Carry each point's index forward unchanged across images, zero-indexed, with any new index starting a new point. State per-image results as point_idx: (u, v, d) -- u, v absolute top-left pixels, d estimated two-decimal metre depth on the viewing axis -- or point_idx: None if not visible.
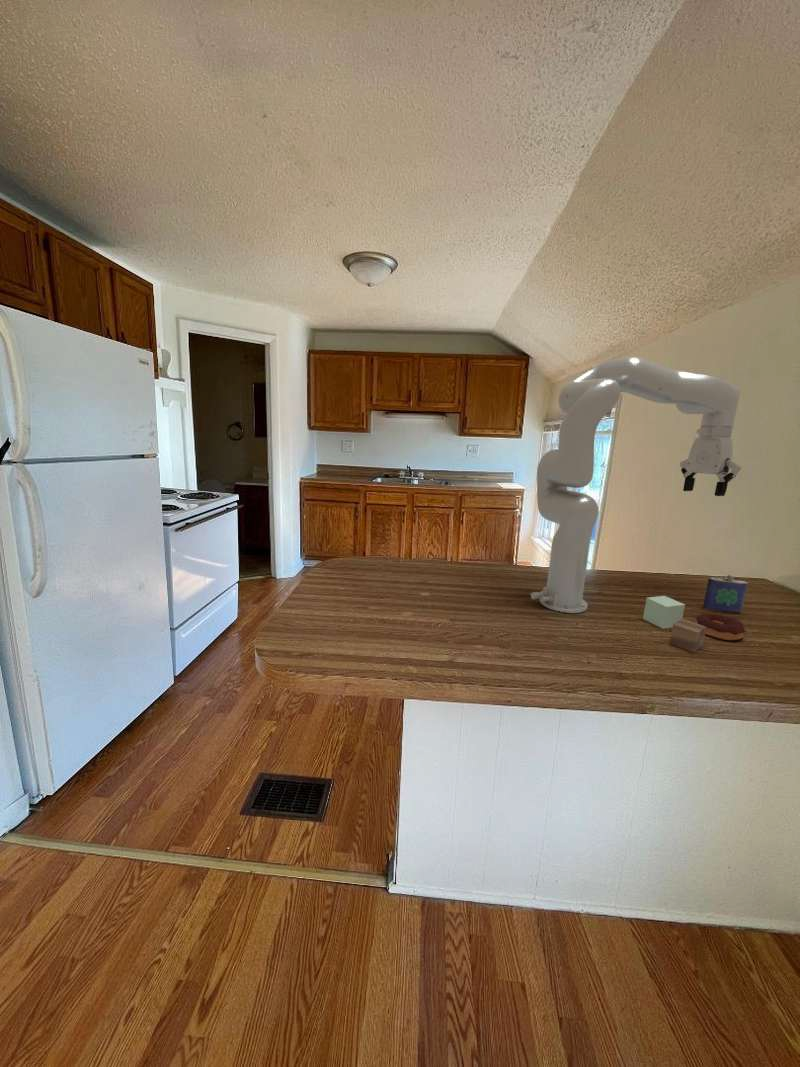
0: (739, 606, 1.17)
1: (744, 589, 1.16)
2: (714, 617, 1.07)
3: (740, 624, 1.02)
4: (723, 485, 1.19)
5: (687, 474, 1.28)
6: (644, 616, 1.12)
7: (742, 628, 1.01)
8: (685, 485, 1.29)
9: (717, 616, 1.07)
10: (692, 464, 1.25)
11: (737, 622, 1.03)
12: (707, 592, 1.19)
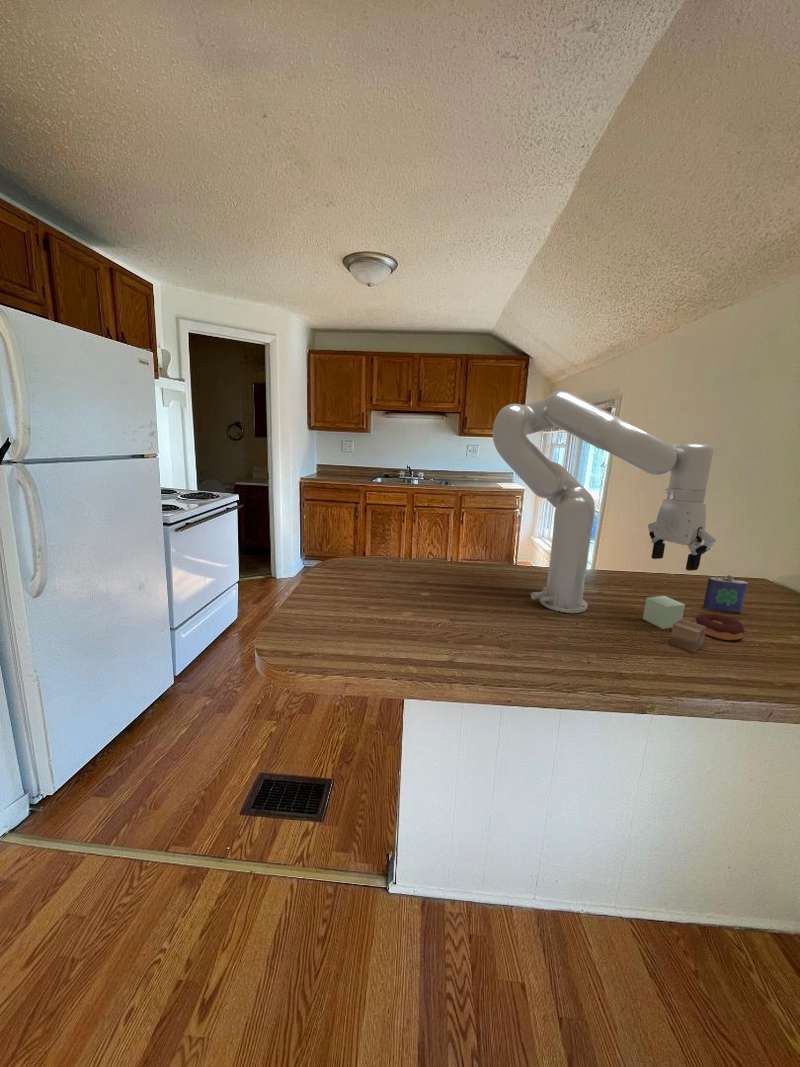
0: (739, 606, 1.17)
1: (744, 589, 1.16)
2: (713, 617, 1.07)
3: (739, 624, 1.02)
4: (695, 558, 1.00)
5: (655, 540, 1.10)
6: (644, 616, 1.12)
7: (741, 628, 1.01)
8: (653, 552, 1.10)
9: (716, 616, 1.07)
10: (660, 530, 1.07)
11: (736, 622, 1.03)
12: (707, 592, 1.19)
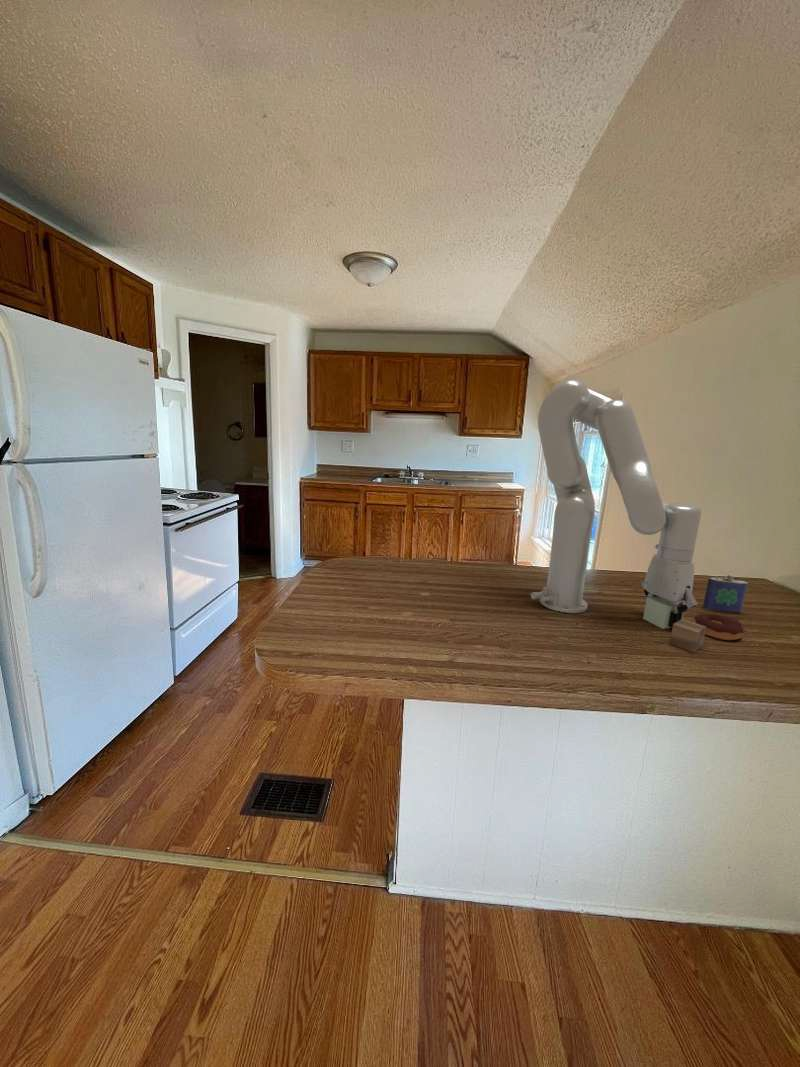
0: (739, 606, 1.17)
1: (744, 589, 1.16)
2: (713, 617, 1.07)
3: (739, 624, 1.02)
4: (677, 616, 1.05)
5: None
6: (644, 615, 1.12)
7: (741, 628, 1.01)
8: None
9: (716, 616, 1.07)
10: (650, 584, 1.10)
11: (736, 622, 1.03)
12: (707, 592, 1.19)
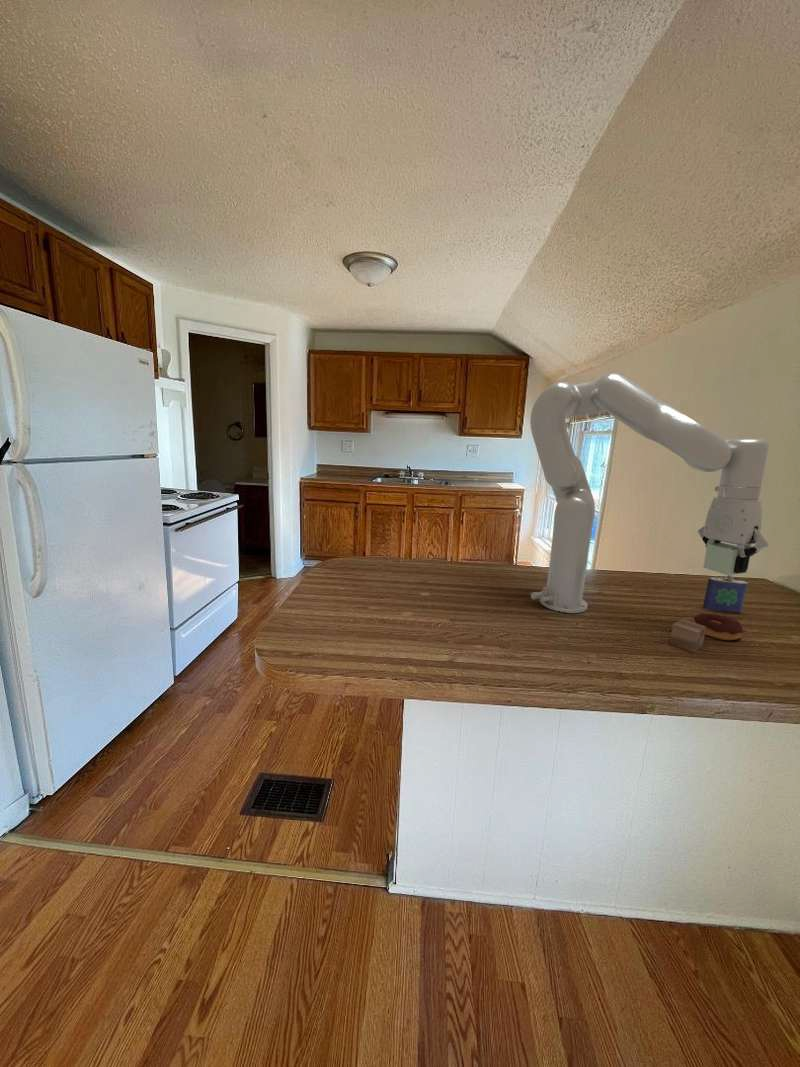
0: (739, 606, 1.17)
1: (744, 589, 1.16)
2: (712, 617, 1.07)
3: (738, 624, 1.02)
4: (744, 561, 0.97)
5: None
6: (705, 564, 1.04)
7: (740, 628, 1.01)
8: None
9: (715, 616, 1.07)
10: (711, 529, 1.02)
11: (735, 622, 1.03)
12: (707, 592, 1.19)
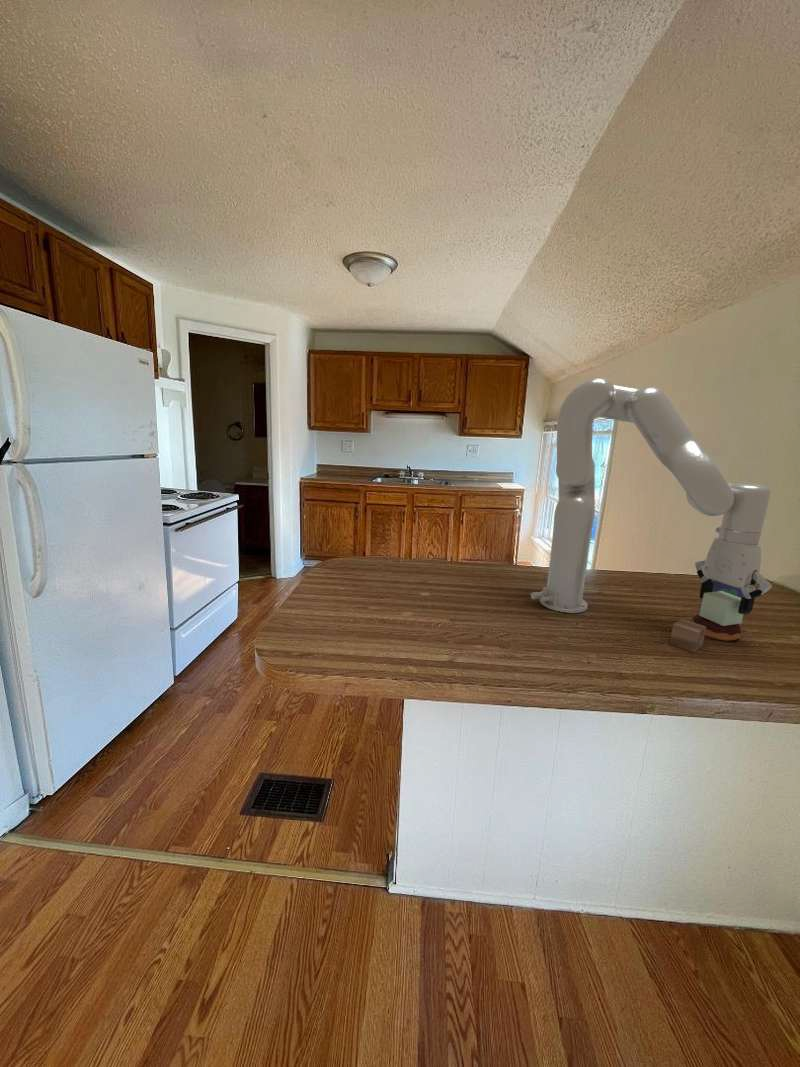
0: None
1: None
2: None
3: (736, 625, 1.02)
4: (749, 602, 0.98)
5: (704, 579, 1.07)
6: (701, 612, 1.06)
7: (738, 629, 1.01)
8: (702, 592, 1.07)
9: None
10: (710, 570, 1.04)
11: None
12: None
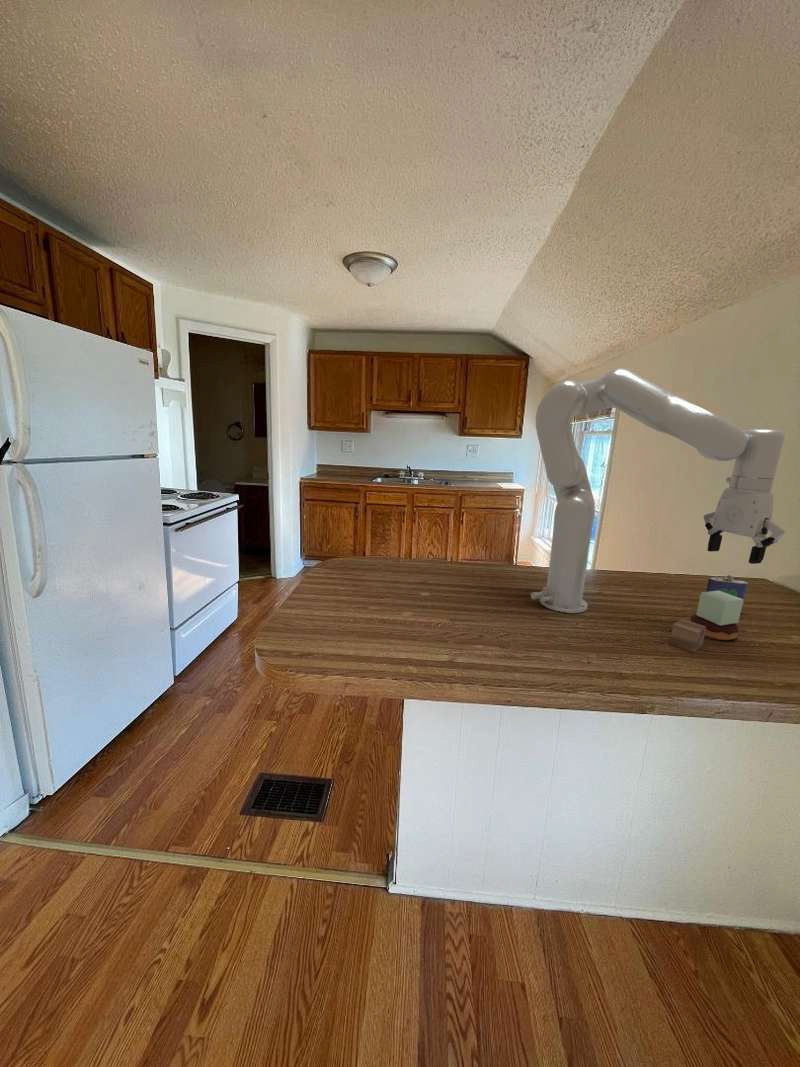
0: None
1: (744, 589, 1.16)
2: None
3: (734, 624, 1.02)
4: (760, 551, 0.95)
5: (713, 531, 1.04)
6: (698, 612, 1.06)
7: (736, 628, 1.01)
8: (710, 544, 1.05)
9: None
10: (720, 521, 1.01)
11: None
12: None
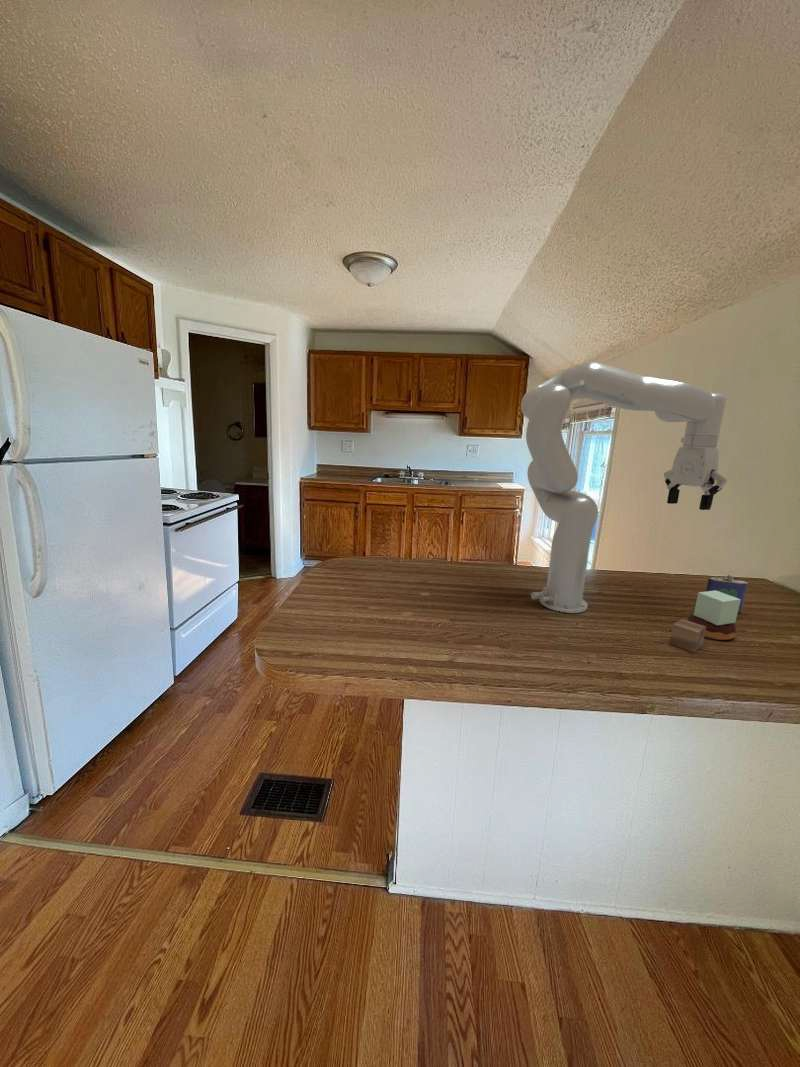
0: (739, 606, 1.17)
1: (744, 589, 1.16)
2: None
3: (731, 624, 1.03)
4: (708, 498, 1.11)
5: (671, 485, 1.20)
6: (695, 611, 1.06)
7: (733, 628, 1.02)
8: (669, 497, 1.21)
9: None
10: (676, 475, 1.17)
11: None
12: None
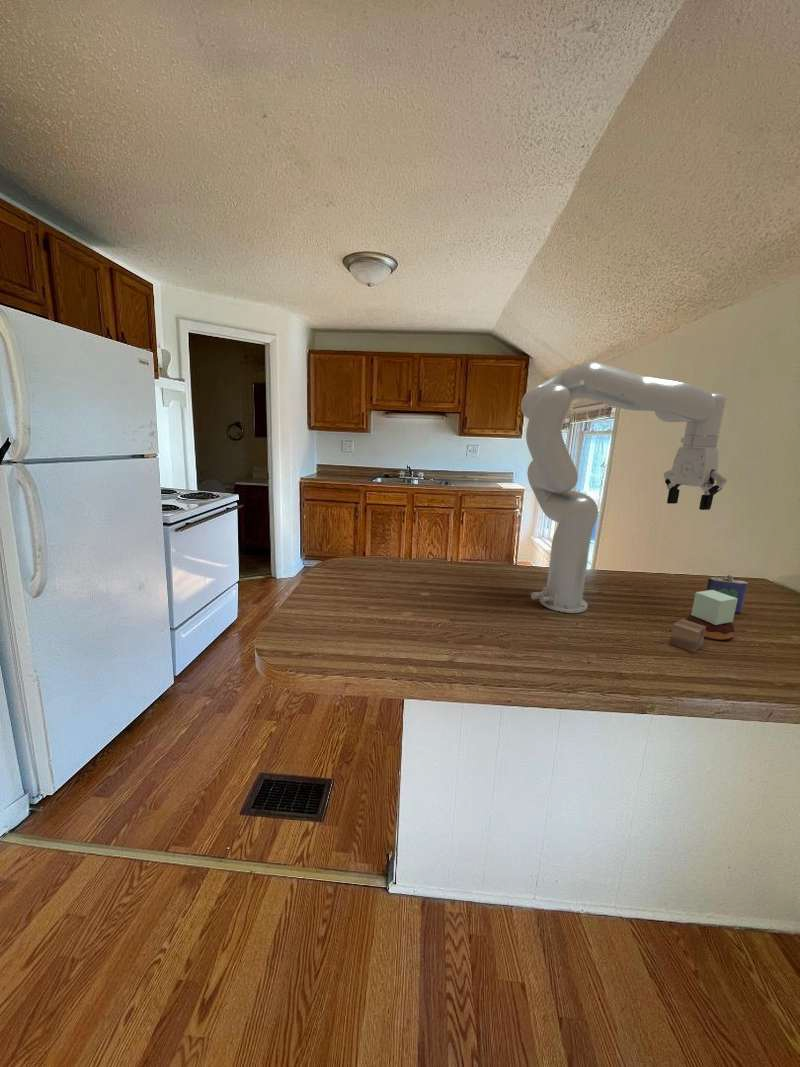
0: (739, 606, 1.17)
1: (744, 589, 1.16)
2: None
3: (730, 623, 1.03)
4: (708, 498, 1.11)
5: (671, 485, 1.20)
6: (693, 611, 1.06)
7: (732, 627, 1.02)
8: (669, 497, 1.21)
9: None
10: (676, 475, 1.17)
11: None
12: None
